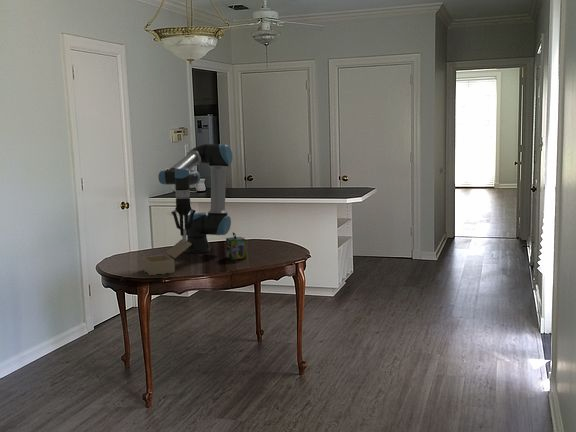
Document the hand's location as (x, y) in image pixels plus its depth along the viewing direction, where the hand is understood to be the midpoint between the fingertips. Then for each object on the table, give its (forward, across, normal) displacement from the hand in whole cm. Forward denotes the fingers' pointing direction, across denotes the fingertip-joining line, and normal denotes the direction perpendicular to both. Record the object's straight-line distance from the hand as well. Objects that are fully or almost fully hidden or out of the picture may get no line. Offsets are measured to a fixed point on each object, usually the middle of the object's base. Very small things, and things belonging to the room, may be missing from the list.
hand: (184, 241), depth 334 cm
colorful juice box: (+15, +33, +9) cm, 37 cm away
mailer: (+15, -15, 0) cm, 21 cm away
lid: (+3, -4, 0) cm, 5 cm away
